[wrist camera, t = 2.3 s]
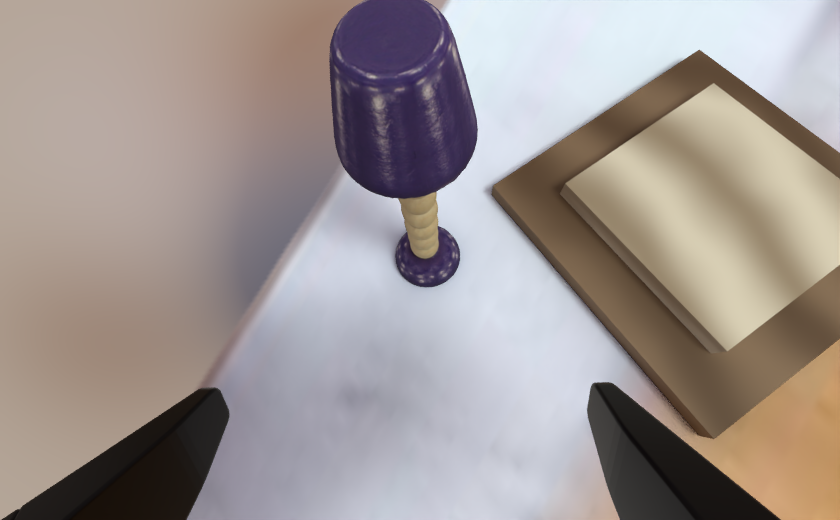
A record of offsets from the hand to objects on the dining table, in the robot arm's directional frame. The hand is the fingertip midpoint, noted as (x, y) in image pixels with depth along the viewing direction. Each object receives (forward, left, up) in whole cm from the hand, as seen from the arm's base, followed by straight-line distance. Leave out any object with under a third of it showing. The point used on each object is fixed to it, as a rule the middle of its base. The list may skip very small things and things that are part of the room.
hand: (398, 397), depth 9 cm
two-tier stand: (+19, -1, -14) cm, 24 cm away
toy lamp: (+4, +7, -14) cm, 16 cm away
